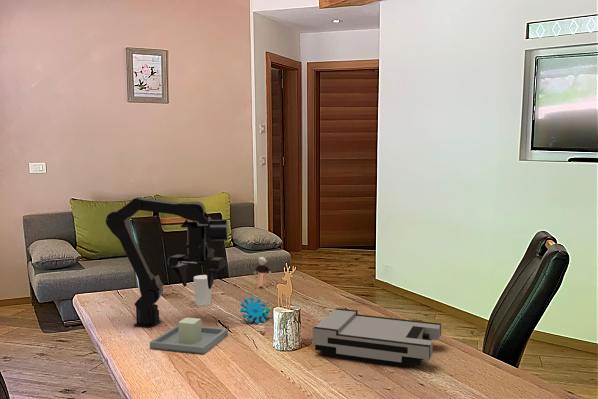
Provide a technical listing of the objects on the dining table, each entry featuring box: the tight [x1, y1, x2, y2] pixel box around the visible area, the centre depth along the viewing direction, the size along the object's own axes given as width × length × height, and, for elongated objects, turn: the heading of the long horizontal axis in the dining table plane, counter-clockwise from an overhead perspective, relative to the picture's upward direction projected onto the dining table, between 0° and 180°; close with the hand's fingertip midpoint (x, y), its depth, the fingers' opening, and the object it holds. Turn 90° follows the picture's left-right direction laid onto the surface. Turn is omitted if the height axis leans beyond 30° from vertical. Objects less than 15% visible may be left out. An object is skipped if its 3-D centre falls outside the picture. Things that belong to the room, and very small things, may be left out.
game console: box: [312, 308, 442, 369], centre depth 165 cm, size 21×32×8 cm, turn 68°
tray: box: [149, 324, 229, 356], centre depth 173 cm, size 17×17×2 cm
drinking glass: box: [193, 274, 213, 307], centre depth 214 cm, size 7×7×10 cm
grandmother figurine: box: [253, 256, 272, 289], centre depth 237 cm, size 8×4×13 cm, turn 80°
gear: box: [239, 296, 272, 325], centre depth 194 cm, size 11×6×10 cm
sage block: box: [177, 317, 202, 344], centre depth 173 cm, size 5×5×6 cm
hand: (197, 287), depth 190 cm, fingers open, 9 cm apart
